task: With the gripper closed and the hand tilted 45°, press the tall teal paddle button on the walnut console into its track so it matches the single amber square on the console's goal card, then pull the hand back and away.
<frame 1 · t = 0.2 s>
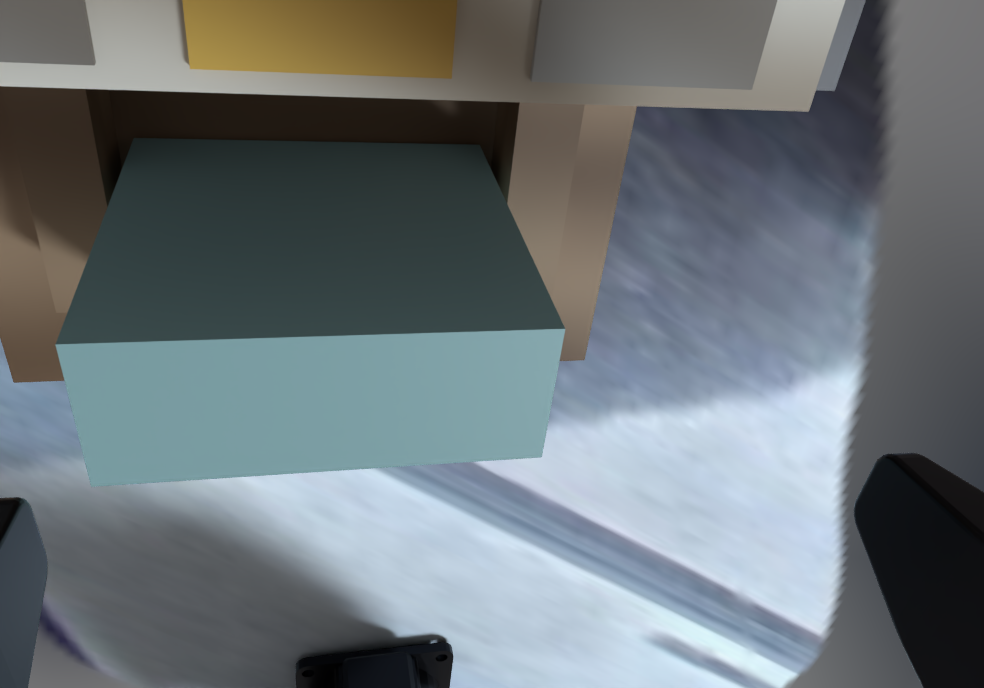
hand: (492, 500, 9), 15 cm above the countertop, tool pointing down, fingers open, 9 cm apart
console: (312, 115, 21), on the countertop
paddle button: (320, 284, 17), point 6 cm above the countertop, slide at 0.0 cm
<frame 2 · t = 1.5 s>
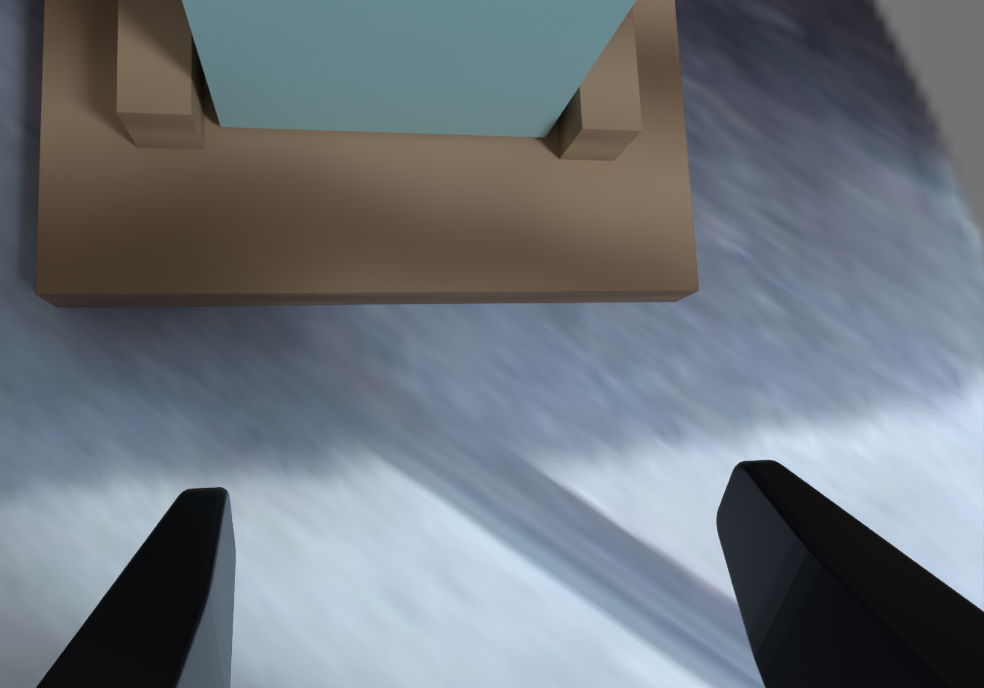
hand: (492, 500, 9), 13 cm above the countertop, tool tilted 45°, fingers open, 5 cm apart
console: (381, 52, 23), on the countertop
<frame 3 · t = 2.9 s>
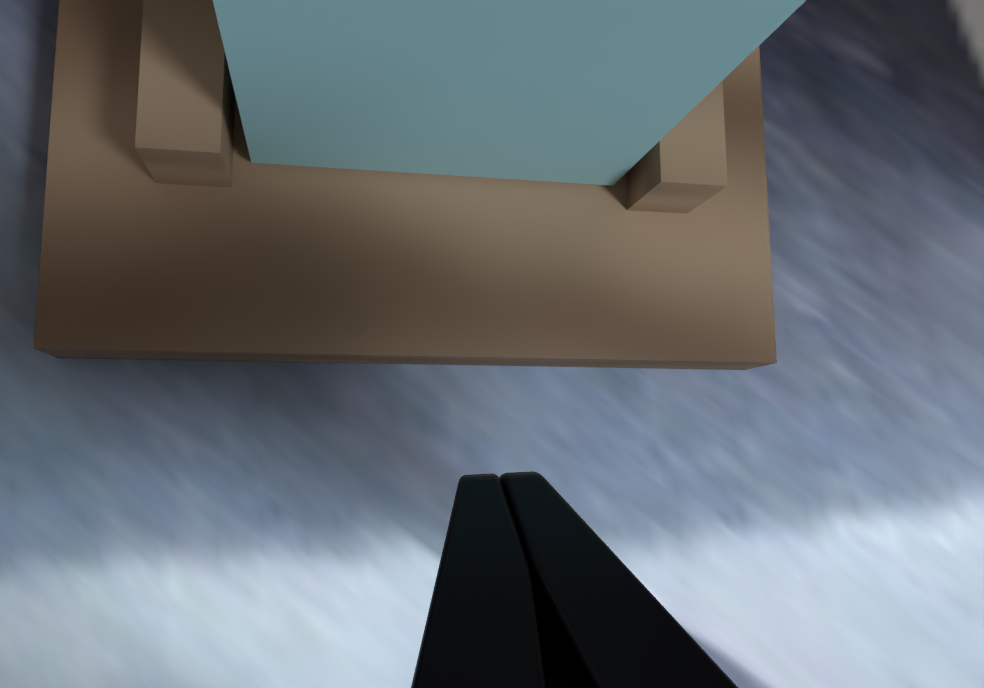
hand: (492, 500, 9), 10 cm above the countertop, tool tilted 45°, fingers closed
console: (430, 80, 20), on the countertop
paddle button: (471, 15, 14), point 6 cm above the countertop, slide at 0.0 cm
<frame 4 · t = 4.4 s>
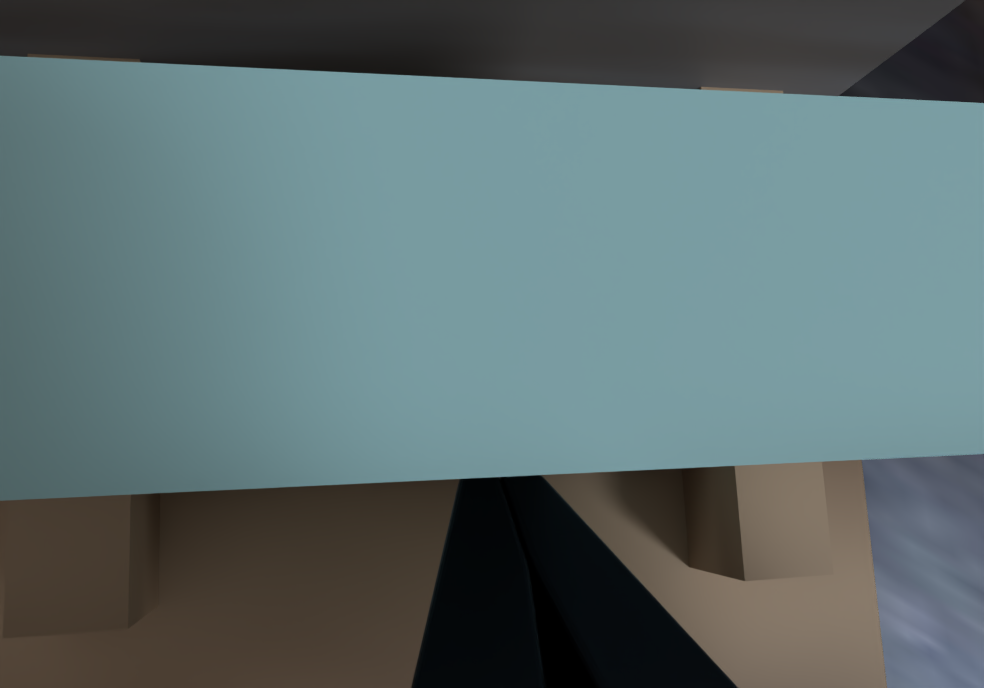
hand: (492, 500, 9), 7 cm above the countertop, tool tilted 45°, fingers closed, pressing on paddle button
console: (423, 384, 16), on the countertop
paddle button: (475, 350, 10), point 6 cm above the countertop, slide at 1.3 cm, touching gripper
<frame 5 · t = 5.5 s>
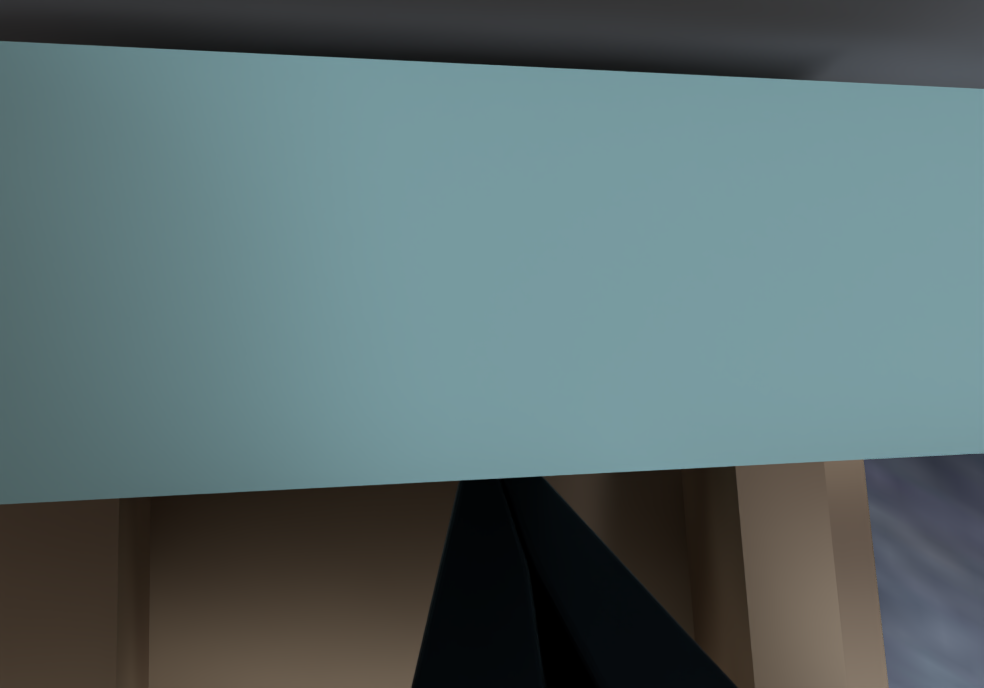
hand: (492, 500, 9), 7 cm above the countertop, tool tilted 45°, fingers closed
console: (423, 509, 15), on the countertop
paddle button: (470, 345, 10), point 6 cm above the countertop, slide at 3.7 cm
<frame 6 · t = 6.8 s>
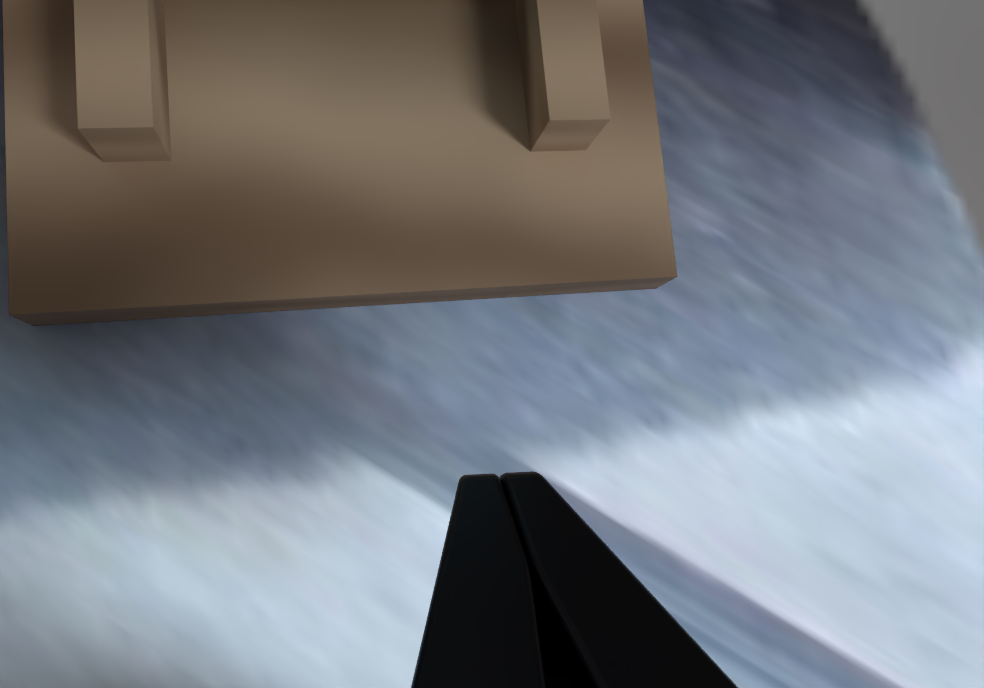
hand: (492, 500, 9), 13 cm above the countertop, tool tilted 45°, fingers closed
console: (347, 52, 22), on the countertop
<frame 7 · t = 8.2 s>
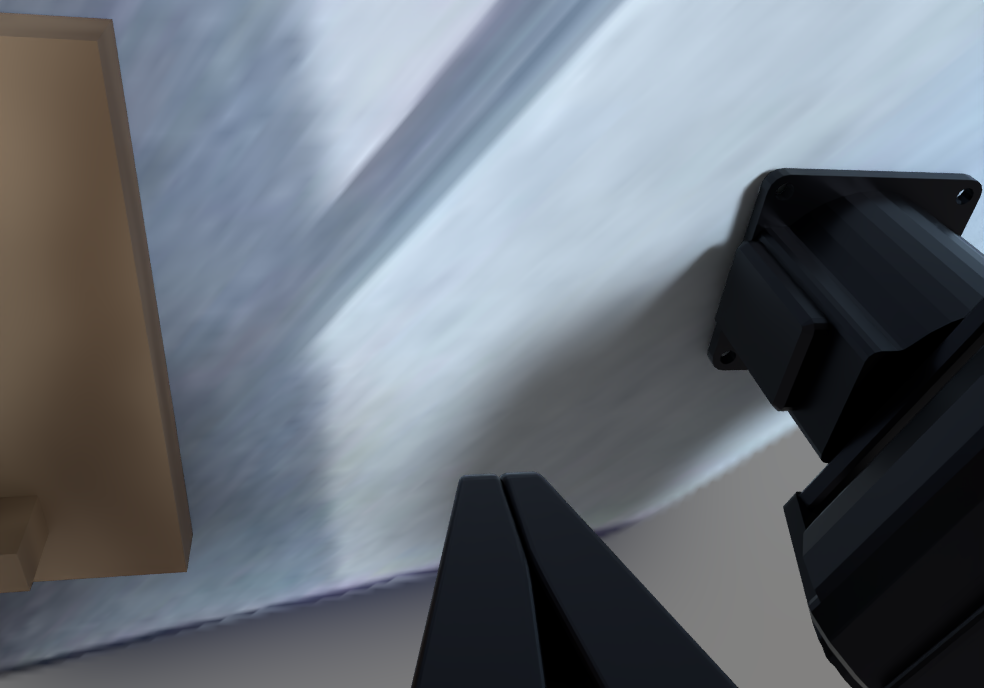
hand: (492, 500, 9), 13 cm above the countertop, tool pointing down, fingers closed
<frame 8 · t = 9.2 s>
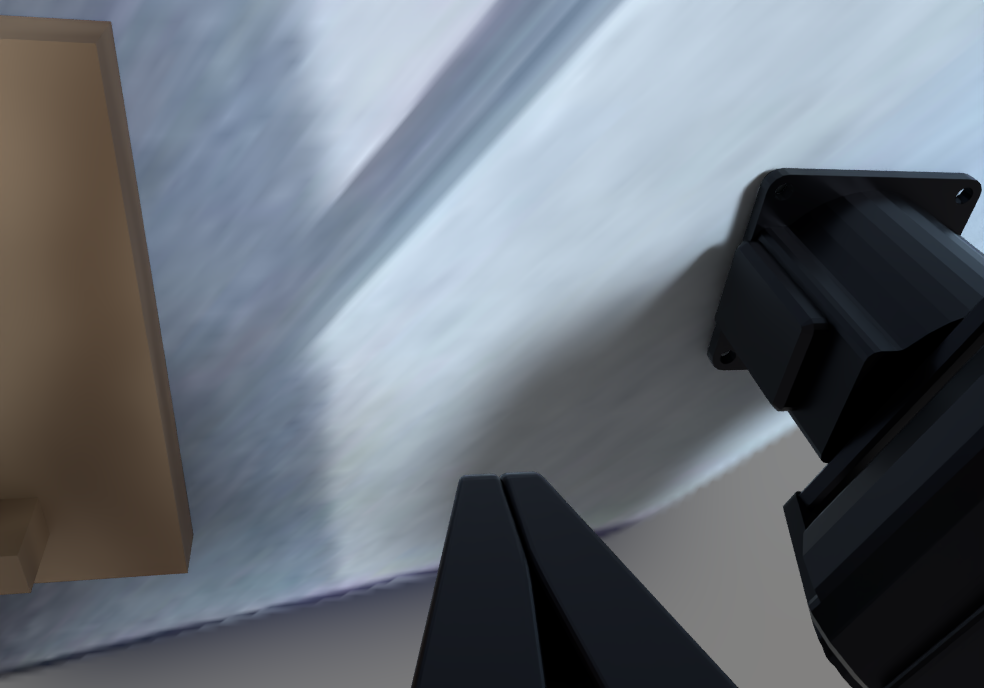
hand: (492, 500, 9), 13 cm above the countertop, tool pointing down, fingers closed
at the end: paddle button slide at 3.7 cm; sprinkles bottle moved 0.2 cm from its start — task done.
